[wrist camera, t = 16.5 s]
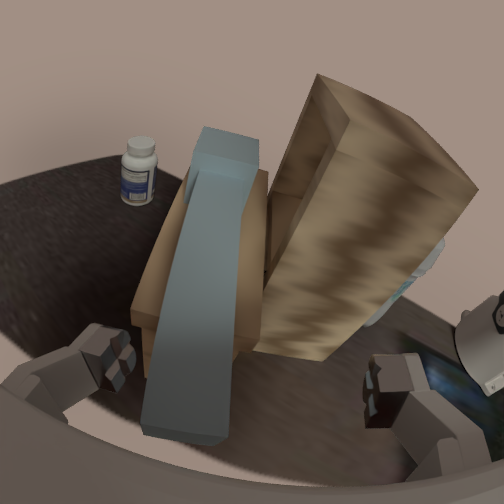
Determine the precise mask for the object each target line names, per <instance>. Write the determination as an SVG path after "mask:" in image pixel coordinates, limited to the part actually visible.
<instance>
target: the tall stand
mask: <svg viewBox="0 0 504 504" xmlns="http://www.w3.org/2000/svg"><path fill="white" fill-rule="evenodd" d="M478 190H479V189H478V188H477V187H476V185H475V184H474V183H473V182H472V181H471V179H470V178H469V177H468V176H467V175H466V173H465V172H464V171H463V170H462V169H461V168H460V167H459V166H458V164H457V163H456V162H455V161H454V160H453V159H452V158H451V157H450V156H449V154H448V153H447V152H446V151H445V150H444V149H443V148H442V147H441V146H440V145H439V144H438V143H437V142H436V141H435V140H434V139H433V138H432V137H431V136H430V135H429V134H428V133H427V132H426V131H425V130H424V129H423V128H422V127H421V126H420V125H419V124H418V123H417V122H415V121H414V120H413V119H412V118H411V117H409V116H408V115H406V114H404V113H402V112H400V111H398V110H397V109H395V108H393V107H391V106H389V105H387V104H385V103H383V102H381V101H379V100H377V99H375V98H373V97H371V96H369V95H367V94H364V93H362V92H360V91H358V90H356V89H353V88H351V87H349V86H347V85H344V84H342V83H340V82H337V81H335V80H332V79H330V78H327V77H325V76H322V75H320V74H317V76H316V78H315V80H314V83H313V85H312V88H311V90H310V92H309V95H308V97H307V100H306V102H305V105H304V107H303V110H302V112H301V114H300V117H299V120H298V122H297V124H296V127H295V129H294V132H293V134H292V137H291V139H290V142H289V144H288V146H287V149H286V151H285V154H284V157H283V159H282V161H281V164H280V166H279V169H278V171H277V174H276V176H275V179H274V181H273V184H272V186H271V188H270V191H269V193H268V196H267V214H266V236H265V256H264V270H265V271H267V272H266V274H265V276H264V277H263V295H262V313H261V330H260V340H259V342H258V343H257V345H256V346H255V348H254V349H253V351H259V352H264V353H270V354H276V355H282V356H288V357H295V358H301V359H308V360H316V361H323V360H325V359H326V358H327V357H328V356H329V355H330V354H331V353H333V352H334V351H335V350H336V349H337V348H338V347H339V346H340V345H341V344H343V343H344V342H345V341H346V340H347V339H348V338H349V337H350V336H351V335H352V334H353V333H355V332H356V331H357V330H358V329H359V328H360V327H361V326H362V325H363V324H364V323H365V322H366V321H367V320H368V319H369V318H370V317H371V316H372V315H373V314H374V313H375V312H376V311H377V310H378V309H379V308H380V307H381V306H382V305H383V304H384V303H385V302H386V301H387V300H388V299H389V298H390V297H391V296H392V295H393V294H394V293H395V292H396V291H397V290H398V289H399V287H400V286H401V285H402V284H403V283H404V282H405V281H406V280H407V279H408V278H409V277H410V275H411V274H412V273H413V272H414V271H415V270H416V269H417V268H418V267H419V265H420V264H421V263H422V262H423V261H424V260H425V258H426V257H427V256H428V255H429V254H430V253H431V251H432V250H433V249H434V248H435V247H436V245H437V244H438V243H439V242H440V241H441V239H442V238H443V237H444V236H445V234H446V233H447V232H448V231H449V229H450V228H451V227H452V225H453V224H454V223H455V222H456V220H457V219H458V218H459V216H460V215H461V214H462V212H463V211H464V210H465V208H466V207H467V206H468V204H469V203H470V201H471V200H472V199H473V197H474V196H475V194H476V193H477V191H478Z"/></svg>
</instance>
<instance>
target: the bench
mask: <svg viewBox="0 0 504 504" xmlns="http://www.w3.org/2000/svg"><path fill="white" fill-rule="evenodd" d="M190 166H191V165H190ZM189 171H190V168H189V170H188V172H187V174H186V176H185V178H184V180H183V182H182V184H181V186H180V188H179V191H178V193H177V195H176V197H175V199H174V202H173V204H172V206H171V208H170V210H169V213H168V215H167V217H166V219H165V222H164V224H163V226H162V229H161V231H160V233H159V236H158V238H157V241H156V243H155V245H154V248H153V250H152V253H151V255H150V258H149V260H148V263H147V265H146V268H145V270H144V273H143V276H142V278H141V281H140V283H139V286H138V289H137V291H136V294H135V297H134V300H133V302H132V305H131V308H130V312H131V323H132V325H134V326H137V327H141V328H142V347H143V362H144V375H145V378H147V377H148V372H149V366H150V361H151V356H152V351H153V346H154V341H155V336H156V331H157V327H158V322H159V318H160V313H161V309H162V304H163V300H164V296H165V292H166V287H167V283H168V279H169V275H170V271H171V267H172V263H173V260H174V256H175V252H176V248H177V245H178V241H179V237H180V234H181V230H182V226H183V223H184V219H185V216H186V212H187V209H188V206H189V204H186V203H183V202H184V196H185V191H186V186H187V181H188V175H189ZM267 192H268V172H267V171H263V170H260V169H258V171H257V174H256V176H255V179H254V182H253V185H252V188H251V190H250V193H249V196H248V199H247V202H246V204H245V207H244V210H243V213H242V216H241V228H240V242H239V257H238V273H237V289H236V305H235V321H234V339H233V357H232V362H233V361H234V359H235V358H236V356H237V354H238V353H239V351H243V352H248V353H251V352H252V350H253V349H254V348H255V346H256V345H257V343H258V342H259V340H260V330H261V313H262V295H263V276H264V256H265V236H266V214H267Z"/></svg>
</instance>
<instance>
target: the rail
mask: <svg viewBox="0 0 504 504" xmlns="http://www.w3.org/2000/svg"><path fill="white" fill-rule="evenodd" d="M258 168H259V140H258V139H254V138H250V137H246V136H243V135H239V134H235V133H231V132H227V131H223V130H219V129H214V128H210V127H205V126H204V127H203V130H202V132H201V134H200V137H199V139H198V141H197V144H196V146H195V149H194V151H193V156H192V161H191V166H190V171H189V175H188V181H187V186H186V191H185V196H184V202H183V203H186V204H189V206H188V209H187V212H186V216H185V219H184V223H183V226H182V230H181V234H180V237H179V241H178V245H177V248H176V252H175V256H174V260H173V263H172V267H171V271H170V275H169V279H168V283H167V287H166V292H165V296H164V300H163V304H162V309H161V313H160V318H159V322H158V327H157V331H156V336H155V341H154V346H153V351H152V356H151V361H150V366H149V372H148V377H147V383H146V388H145V394H144V400H143V406H142V413H141V419H140V425H141V428H142V432H143V435H146V436H151V437H157V438H162V439H167V440H173V441H179V442H186V443H193V444H201V445H209V446H214V445H216V444H218V443H219V442H221V441H223V440H225V439H226V438H228V436H229V415H230V394H231V375H232V357H233V339H234V321H235V305H236V289H237V273H238V257H239V242H240V228H241V216H242V213H243V210H244V207H245V204H246V202H247V199H248V196H249V193H250V190H251V188H252V185H253V182H254V179H255V176H256V174H257V171H258Z"/></svg>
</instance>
